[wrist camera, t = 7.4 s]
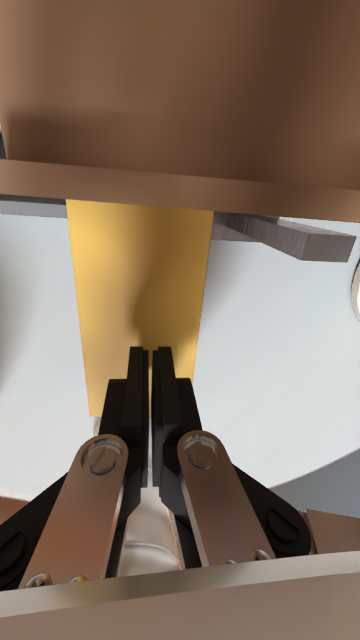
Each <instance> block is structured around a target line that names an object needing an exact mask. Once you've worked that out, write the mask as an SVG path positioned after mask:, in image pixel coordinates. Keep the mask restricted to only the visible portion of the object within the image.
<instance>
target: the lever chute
mask: <svg viewBox="0 0 360 640" xmlns="http://www.w3.org/2000/svg"><path fill="white" fill-rule="evenodd" d="M0 125H1V131H2V136H3V141H4V146H5V152H6V157H7V160H6V159H0V194H7V195H20V196H32V197H45V198H57V199H66V206H67V215H68V224H69V233H70V242H71V251H72V260H73V269H74V278H75V287H76V296H77V305H78V314H79V323H80V332H81V341H82V350H83V359H84V368H85V377H86V386H87V395H88V404H89V413H90V416H94V417H102V412H103V407H104V402H105V397H106V392H107V386H108V382H109V379H127V370H128V361H129V351H130V346H143V350H149V418H151V383H152V353H153V350H158V346H171V350H172V356H173V363H174V369H175V376H176V378H190V379H191V383H193V375H194V367H195V359H196V351H197V343H198V335H199V327H200V318H201V310H202V302H203V294H204V286H205V278H206V270H207V262H208V254H209V246H210V238H211V229H212V221H213V213H214V211H218V212H231V213H243V214H255V215H268V216H280V217H292V218H305V219H317V220H330V221H342V222H354V223H360V0H0Z"/></svg>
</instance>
